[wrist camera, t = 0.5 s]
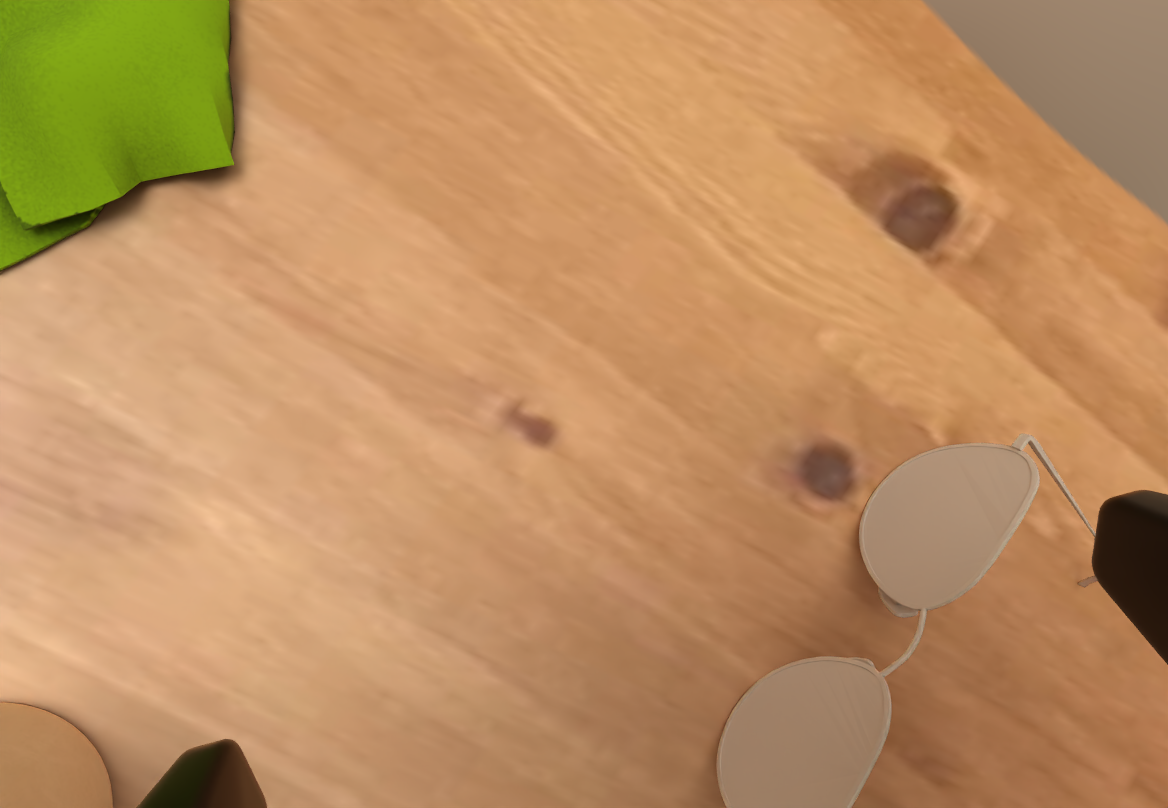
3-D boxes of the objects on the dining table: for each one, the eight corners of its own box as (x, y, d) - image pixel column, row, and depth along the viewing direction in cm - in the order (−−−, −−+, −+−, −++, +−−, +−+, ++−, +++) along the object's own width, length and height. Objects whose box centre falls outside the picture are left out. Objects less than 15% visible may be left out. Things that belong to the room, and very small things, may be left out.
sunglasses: (920, 417, 25) (1069, 431, 21) (1053, 562, 28) (1209, 602, 23) (675, 797, 22) (783, 912, 18) (849, 915, 25) (981, 1040, 21)
